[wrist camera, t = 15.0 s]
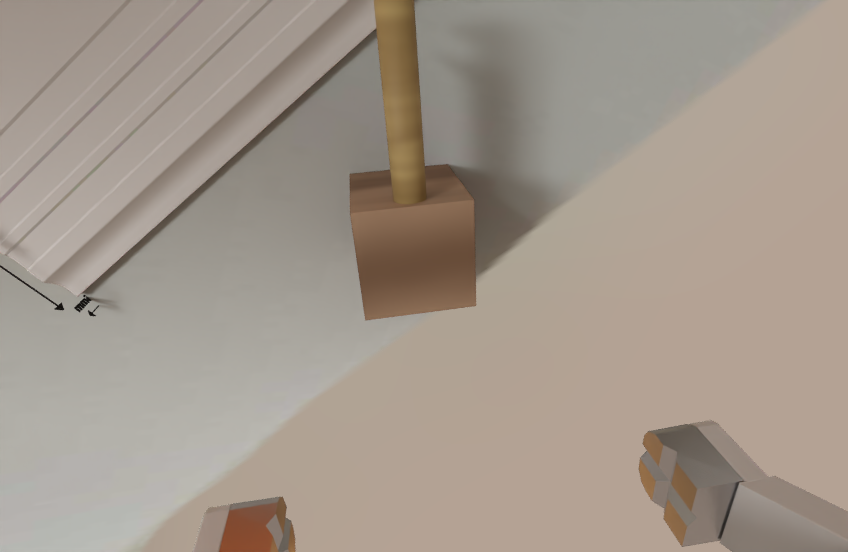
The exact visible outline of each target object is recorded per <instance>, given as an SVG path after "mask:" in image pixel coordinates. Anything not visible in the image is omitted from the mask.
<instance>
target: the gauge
mask: <svg viewBox="0 0 848 552" xmlns="http://www.w3.org/2000/svg"><path fill="white" fill-rule="evenodd" d="M374 9H375V19H376V30H377V40H378V50H379V60H380V70H381V80H382V90H383V101H384V111H385V121H386V131H387V141H388V151H389V161H390V170H384V171H374V172H364V173H354V174H350V216H351V223H352V230H353V237H354V244H355V251H356V258H357V265H358V272H359V279H360V286H361V293H362V300H363V307H364V314H365V320H372V319H380V318H387V317H395V316H403V315H410V314H418V313H426V312H433V311H441V310H449V309H456V308H464V307H471V306H476V272H475V217H474V199H473V197H472V196H471V195H470V193H469V192H468V191H467V190H466V188H465V187H464V186H463V184H462V183H461V182H460V180H459V179H458V178H457V176H456V175H455V174H454V172H453V171H452V170H451V168H450V167H449V166H448V164H443V165H434V166H425V163H424V148H423V132H422V117H421V102H420V86H419V71H418V56H417V40H416V25H415V10H414V0H374Z"/></svg>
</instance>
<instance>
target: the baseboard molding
mask: <svg viewBox="0 0 848 552" xmlns="http://www.w3.org/2000/svg"><path fill="white" fill-rule="evenodd" d="M375 29H376V19H375V9H374V0H0V252H1V253H2V254H4V255H7V256H9V257H10V258H12V259H13V260H14V261H16V262H17V263H19V264H20V265H21V266H23V267H24V268H26V269H27V271H28V272H29V273H31V274H32V275H33V276H35V277H36V278H38V279H39V280H41V281H42V282H45V283H53V284H57V285H60V286H62V287H64V288H66V289H67V290H69V291H70V292H71V293H73V294H74V295H76V296H77V297H78V296H79V295H80V294H81V293H82V292H83V291H85V290H86V289H87V288H88V287H89V286H90V285H91V284H92V283H93V282H95V281H96V280H97V279H98V278H99V277H100V276H101V275H102V274H103V273H105V272H106V271H107V270H108V269H109V268H110V267H111V266H112V265H113V264H115V263H116V262H117V261H118V260H119V259H120V258H121V257H122V256H123V255H125V254H126V253H127V252H128V251H129V250H130V249H131V248H132V247H133V246H135V245H136V244H137V243H138V242H139V241H140V240H141V239H142V238H143V237H145V236H146V235H147V234H148V233H149V232H150V231H151V230H152V229H153V228H155V227H156V226H157V225H158V224H159V223H160V222H161V221H162V220H163V219H165V218H166V217H167V216H168V215H169V214H170V213H171V212H172V211H173V210H175V209H176V208H177V207H178V206H179V205H180V204H181V203H182V202H183V201H185V200H186V199H187V198H188V197H189V196H190V195H191V194H192V193H194V192H195V191H196V190H197V189H198V188H199V187H200V186H201V185H202V184H204V183H205V182H206V181H207V180H208V179H209V178H210V177H211V176H212V175H214V174H215V173H216V172H217V171H218V170H219V169H220V168H221V167H222V166H224V165H225V164H226V163H227V162H228V161H229V160H230V159H231V158H232V157H234V156H235V155H236V154H237V153H238V152H239V151H240V150H241V149H242V148H244V147H245V146H246V145H247V144H248V143H249V142H250V141H251V140H252V139H254V138H255V137H256V136H257V135H258V134H259V133H260V132H261V131H262V130H264V129H265V128H266V127H267V126H268V125H269V124H270V123H271V122H272V121H274V120H275V119H276V118H277V117H278V116H279V115H280V114H281V113H282V112H284V111H285V110H286V109H287V108H288V107H289V106H290V105H291V104H292V103H294V102H295V101H296V100H297V99H298V98H299V97H300V96H301V95H302V94H304V93H305V92H306V91H307V90H308V89H309V88H310V87H311V86H312V85H314V84H315V83H316V82H317V81H318V80H319V79H320V78H321V77H322V76H324V75H325V74H326V73H327V72H328V71H329V70H330V69H331V68H332V67H334V66H335V65H336V64H337V63H338V62H339V61H340V60H341V59H342V58H344V57H345V56H346V55H347V54H348V53H349V52H350V51H351V50H352V49H354V48H355V47H356V46H357V45H358V44H359V43H360V42H361V41H363V40H364V39H365V38H366V37H367V36H368V35H369V34H370V33H371V32H373V31H374V30H375ZM0 267H1V268H2V269H4V270H5V271H7V272H8V273H10V274H11V275H12V276H14V277H15V278H17V279H18V280H20V281H21V282H23V283H24V284H25V285H27V286H28V287H30V288H31V289H33V290H34V291H36V292H37V293H39V294H40V295H41V296H43V297H44V298H46V299H47V300H49V301H50V302H52V303H53V304H55V305H56V306H57V307H56V308H55V310H64V308H63V305H62V303H60V304H59V305H57V304H56V303H54V302H53V301H51V300H50V299H48V298H47V297H46V296H44V295H43V294H41V293H40V292H38V291H37V290H35V289H34V288H33V287H31V286H30V285H28V284H27V283H25V282H24V281H22V280H21V279H20V278H18V277H17V276H15V275H14V274H12V273H11V272H9V271H8V270H6V269H5V268H4V267H2V266H1V265H0ZM83 297H85V295H83ZM84 300H85V301H86V302H85V301H84ZM89 301H91V300H90V299H89V298H88V297H86V299H85V298H84V299H83V300H82V301H80V303H79V304H78V305H76V307H74V308H75V309H76V310H77V311H79V312H80V311H81V310H82V308H84V306H86V305H87V304H88V303H89ZM82 302H83V303H82ZM87 302H88V303H87ZM84 303H85V304H86V305H85V304H84ZM81 304H82V305H81ZM80 306H81V307H82V308H81V307H80ZM98 307H99V305H98V306H97V308H98ZM78 308H79V309H80V310H79V309H78ZM97 308H96V309H97ZM96 309H95V310H96ZM95 310H94V311H95ZM94 311H93V312H94ZM88 312H89V315H90V316H96V315H94V314H93V312H90V311H89V310H88Z"/></svg>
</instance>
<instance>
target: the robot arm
mask: <svg viewBox="0 0 848 552" xmlns="http://www.w3.org/2000/svg"><path fill="white" fill-rule="evenodd" d="M643 445H644V447H645V448H646V449H647V451H646V452H645V453H644V454H643V455H642V456H641V458H640V463H639V473H640V477H641V482H642V484H643V486H644V488H645V490H646V492H647V494H648V495H649V497H650V499H651V500H652V501H653V502H655V503H656V504H658V505H660V506H661V507H663V508H664V520H665V522H666V523H667V525H668V526H669V528H670V529H671V531H672V532H673V534H674V535H675V537H676V538H677V540H678V542H679V543H680V545H681V546H682V547H684V546H690V545H696V544H702V543H708V542H714V541H720V540H721V541H720V543H721V544H722V545H724V546H725V547H726V548H728V549H729V550H730V551H732V552H848V511H846V510H844V509H842V508H840V507H838V506H836V505H833V504H832V503H829V502H827V501H825V500H823V499H821V498H819V497H817V496H815V495H813V494H811V493H809V492H807V491H805V490H803V489H801V488H799V487H796V486H794V485H792V484H790V483H788V482H786V481H784V480H782V479H780V478H778V477H776V476H772V477H768V476H767V475H766V474H765V472H764V471H763V470H762V469H761V468H760V467H759V466H758V465H757V464H756V463H755V462H754V461H753V460H752V459H751V458H750V457H749V456H748V455H747V454H746V453H745V452H744V451H743V449H742V448H740V446H739V445H738V444H737V443H736V442H735V441H734V440H733V439H732V438H731V437H730V436H729V435H728V434H727V433H726V432H725V431H724V430H723V429H722V428H721V427H720V426H719V424H717V423H716V422H714V421H712V420H710V421H704V422H698V423H693V424H689V425H688V424H685V425H680V426H674V427H669V428H664V429H658V430H653V431H648V432H647V433H646V434H645V435H644V439H643ZM286 508H287V507H286V504H285V501H284V499H283V497H275V498H268V499H262V500H255V501H248V502H242V503H236V504H230V505H223V506H217V507H210V508H208V509H207V511H206V512H205V514H204V516H203V518H202V522H201V525H200V528H199V532H198V535H197V538H196V542H195V545H194V548H193V552H295V535H294V529H293V525H292V522H291V520H289V519H287V518H286Z"/></svg>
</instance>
